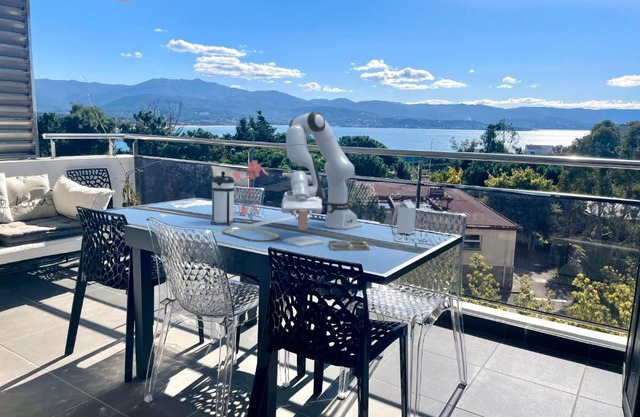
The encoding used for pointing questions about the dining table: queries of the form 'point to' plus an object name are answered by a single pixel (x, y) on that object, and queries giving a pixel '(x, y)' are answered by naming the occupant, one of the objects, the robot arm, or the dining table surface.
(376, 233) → the dining table surface
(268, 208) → the dining table surface
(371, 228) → the dining table surface
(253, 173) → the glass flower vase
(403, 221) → the milk carton
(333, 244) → the birch puzzle board
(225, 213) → the coffee press
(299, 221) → the terracotta peg block
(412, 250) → the dining table surface
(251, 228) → the serving platter
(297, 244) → the off-white ceramic tile
